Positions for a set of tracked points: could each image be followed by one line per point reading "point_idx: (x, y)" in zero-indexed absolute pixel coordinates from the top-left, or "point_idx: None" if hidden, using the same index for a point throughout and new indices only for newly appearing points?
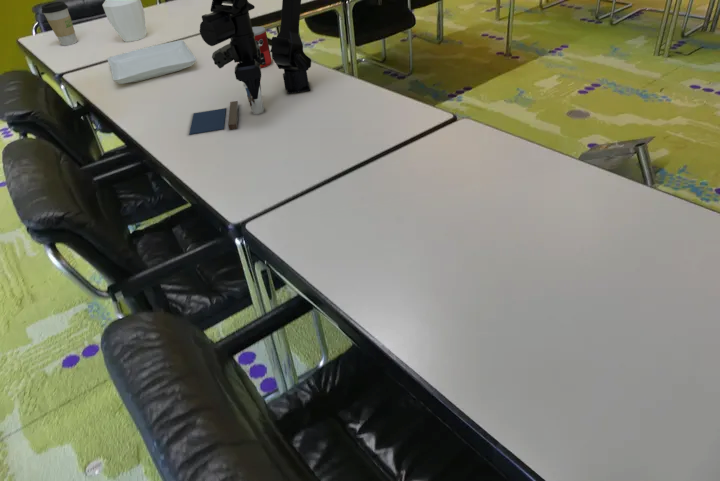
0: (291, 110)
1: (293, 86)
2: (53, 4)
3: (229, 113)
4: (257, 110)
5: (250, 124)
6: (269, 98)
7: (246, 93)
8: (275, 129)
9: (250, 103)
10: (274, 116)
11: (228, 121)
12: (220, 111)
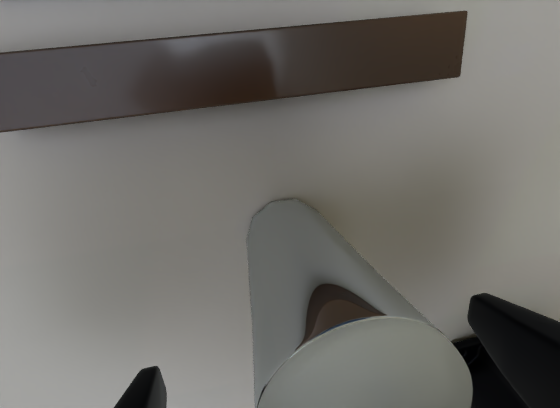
0: (253, 392)
1: (478, 391)
2: None
3: (218, 37)
4: (247, 254)
5: (89, 215)
6: (451, 260)
7: (295, 284)
8: (3, 374)
9: (271, 242)
10: (194, 332)
11: (29, 51)
12: None
